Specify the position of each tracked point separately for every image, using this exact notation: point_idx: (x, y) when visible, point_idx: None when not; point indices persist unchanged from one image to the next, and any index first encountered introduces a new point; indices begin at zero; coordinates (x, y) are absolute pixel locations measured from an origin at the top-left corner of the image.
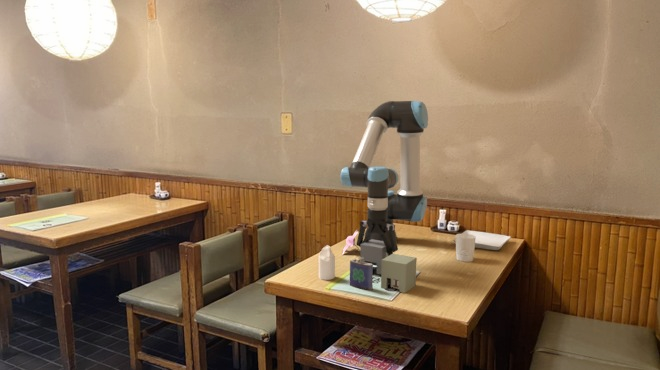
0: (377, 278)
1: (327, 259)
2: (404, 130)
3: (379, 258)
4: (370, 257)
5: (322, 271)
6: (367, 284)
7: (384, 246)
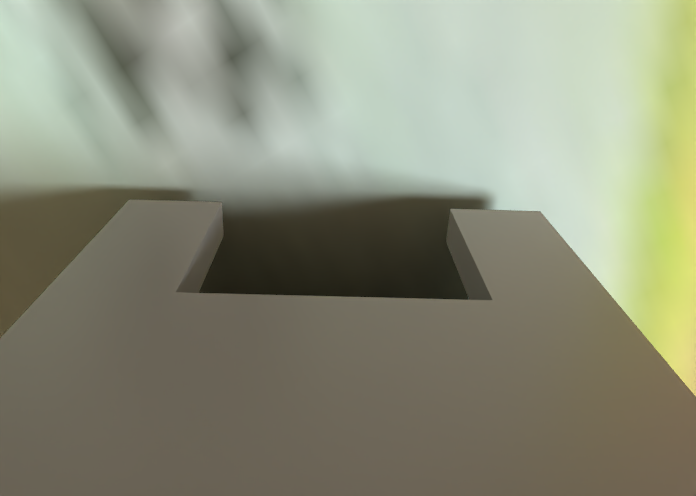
0: (156, 93)
1: None
2: None
3: (49, 364)
4: (347, 360)
5: None
6: None
7: None
